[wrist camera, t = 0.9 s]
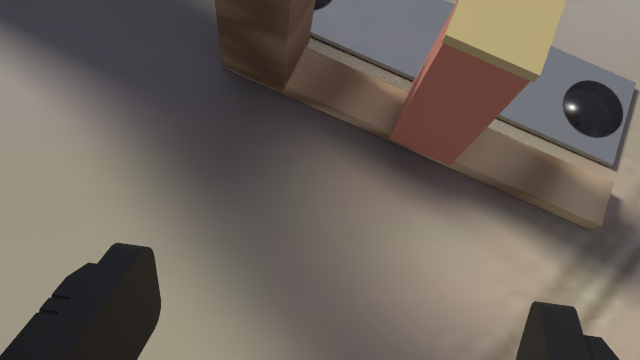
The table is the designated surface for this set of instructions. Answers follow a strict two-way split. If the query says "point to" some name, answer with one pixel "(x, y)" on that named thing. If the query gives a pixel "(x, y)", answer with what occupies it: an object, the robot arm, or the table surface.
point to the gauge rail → (391, 107)
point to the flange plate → (525, 109)
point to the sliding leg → (475, 72)
